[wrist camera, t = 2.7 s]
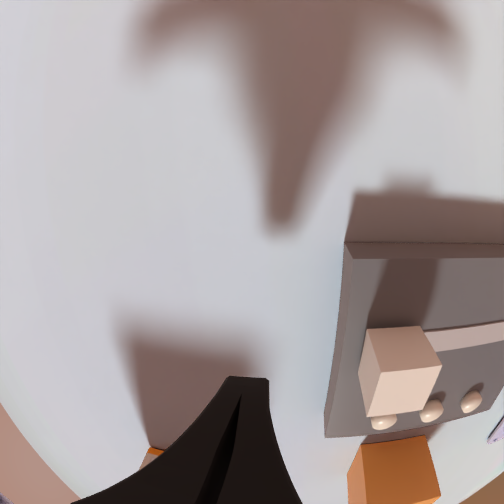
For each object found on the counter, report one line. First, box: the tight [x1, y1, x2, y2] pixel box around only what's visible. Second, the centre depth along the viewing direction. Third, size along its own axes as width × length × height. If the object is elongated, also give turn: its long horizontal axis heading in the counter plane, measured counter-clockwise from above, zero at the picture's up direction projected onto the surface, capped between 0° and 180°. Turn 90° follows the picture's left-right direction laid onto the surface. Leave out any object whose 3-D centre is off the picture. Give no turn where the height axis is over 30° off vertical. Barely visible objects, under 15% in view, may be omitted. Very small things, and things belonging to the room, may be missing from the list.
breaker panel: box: [324, 242, 504, 438], centre depth 12 cm, size 12×11×3 cm
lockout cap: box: [347, 435, 441, 504], centre depth 14 cm, size 5×5×6 cm
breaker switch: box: [358, 326, 442, 417], centre depth 10 cm, size 2×2×3 cm
